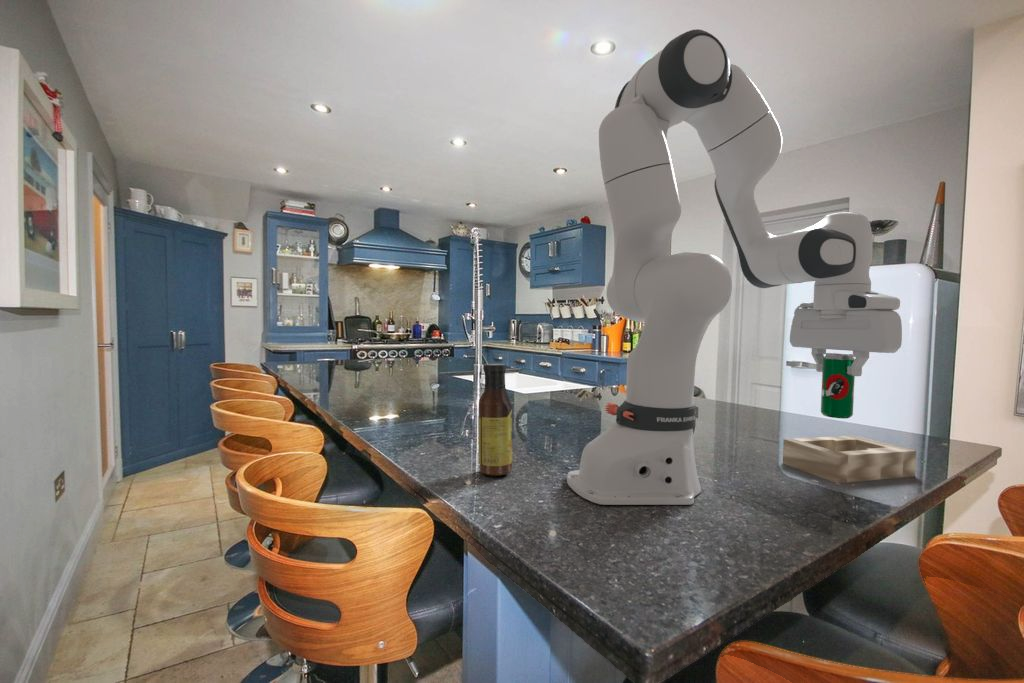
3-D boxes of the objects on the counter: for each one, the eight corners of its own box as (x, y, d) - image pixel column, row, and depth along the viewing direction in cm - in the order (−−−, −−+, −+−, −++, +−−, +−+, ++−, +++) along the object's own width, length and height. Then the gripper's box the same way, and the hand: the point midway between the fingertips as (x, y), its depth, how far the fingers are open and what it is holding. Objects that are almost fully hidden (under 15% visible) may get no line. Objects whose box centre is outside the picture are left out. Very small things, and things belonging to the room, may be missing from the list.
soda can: (859, 419, 87) (862, 355, 86) (831, 418, 87) (834, 354, 86) (840, 414, 92) (843, 353, 91) (814, 413, 92) (817, 352, 91)
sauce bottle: (518, 473, 85) (520, 365, 84) (489, 479, 81) (491, 366, 81) (499, 464, 90) (501, 362, 90) (471, 469, 87) (472, 363, 86)
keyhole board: (836, 483, 82) (838, 455, 82) (782, 463, 94) (783, 439, 94) (914, 477, 87) (916, 450, 86) (853, 458, 98) (854, 435, 98)
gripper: (783, 302, 98) (780, 368, 98) (881, 298, 78) (877, 380, 78) (807, 303, 99) (805, 368, 100) (910, 299, 79) (906, 380, 80)
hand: (837, 373), depth 89 cm, fingers closed on soda can, 5 cm apart
